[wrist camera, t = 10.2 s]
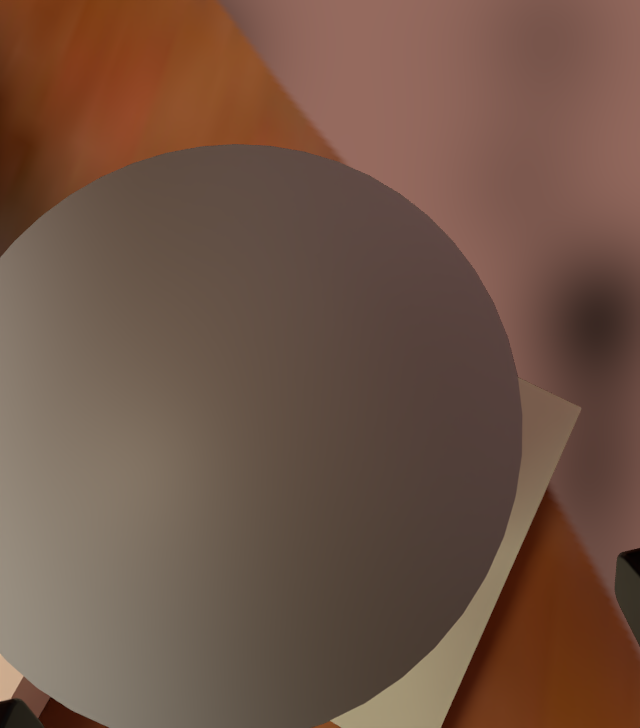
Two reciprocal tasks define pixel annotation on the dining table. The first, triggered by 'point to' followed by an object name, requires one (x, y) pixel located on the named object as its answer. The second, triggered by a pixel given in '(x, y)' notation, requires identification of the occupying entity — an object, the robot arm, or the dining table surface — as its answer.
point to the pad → (453, 653)
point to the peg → (244, 441)
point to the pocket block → (20, 688)
